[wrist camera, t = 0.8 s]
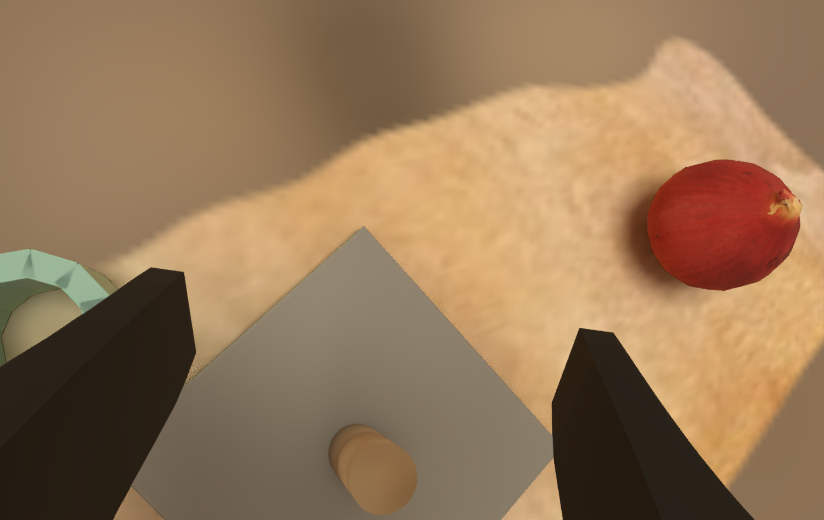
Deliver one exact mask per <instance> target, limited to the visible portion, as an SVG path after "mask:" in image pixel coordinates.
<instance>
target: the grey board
mask: <svg viewBox="0 0 824 520" xmlns="http://www.w3.org/2000/svg"><path fill="white" fill-rule="evenodd" d="M351 424H364V425H367V426H369V427H371V428H372V429H374V430H375V431H377V432H378V433H380V434H381V435H383V436H384V437H386V438H387V439H389V440H390V441H392V442H393V443H395V444H396V445H398V446H399V447H401V448H402V449H403V450H405V451H406V452H407V453H408V454H409V455H410V456H411V458H412V459H413V461H414V463H415V466H416V470H417V485H416V489H415V492H414V494H413V496H412V498H411V499H410V501H409V502H408V503H407V504H406V505H405V506H404V507H403V508H402V509H400V510H399V511H397V512H395V513H392V514H389V515H374V514H371V513H369V512H367V511H365V510H364V509H362V508H361V507H360V506H359V505H358V503H357V502H356V501H355V499H354V498H353V496H352V495H351V494H350V492H349V491H348V490H347V488H346V487H345V485H344V484H343V483H342V481H341V480H340V478H339V477H338V476H337V474H336V473H335V471H334V470H333V468H332V467H331V464H330V462H329V456H328V452H329V446H330V443H331V441H332V439H333V437H334V436H335V434H336V433H337V432H338V431H339V430H340V429H342V428H343V427H345V426H347V425H351ZM552 458H553V437H552V435H551V434H550V433H549V432H548V430H547V429H546V428H545V427H544V426H543V425H542V424H541V423H540V422H539V420H538V419H537V418H536V417H535V416H534V415H533V414H532V413H531V412H530V410H529V409H528V408H527V407H526V406H525V405H524V404H523V403H522V402H521V400H520V399H519V398H518V397H517V396H516V395H515V394H514V393H513V391H512V390H511V389H510V388H509V387H508V386H507V385H506V384H505V383H504V381H503V380H502V379H501V378H500V377H499V376H498V375H497V374H496V373H495V371H494V370H493V369H492V368H491V367H490V366H489V365H488V364H487V362H486V361H485V360H484V359H483V358H482V357H481V356H480V355H479V354H478V352H477V351H476V350H475V349H474V348H473V347H472V346H471V345H470V344H469V342H468V341H467V340H466V339H465V338H464V337H463V336H462V335H461V334H460V332H459V331H458V330H457V329H456V328H455V327H454V326H453V325H452V323H451V322H450V321H449V320H448V319H447V318H446V317H445V316H444V315H443V313H442V312H441V311H440V310H439V309H438V308H437V307H436V306H435V305H434V303H433V302H432V301H431V300H430V299H429V298H428V297H427V296H426V295H425V293H424V292H423V291H422V290H421V289H420V288H419V287H418V286H417V284H416V283H415V282H414V281H413V280H412V279H411V278H410V277H409V276H408V274H407V273H406V272H405V271H404V270H403V269H402V268H401V267H400V266H399V264H398V263H397V262H396V261H395V260H394V259H393V258H392V257H391V256H390V254H389V253H388V252H387V251H386V250H385V249H384V248H383V247H382V245H381V244H380V243H379V242H378V241H377V240H376V239H375V238H374V237H373V235H372V234H371V233H370V232H369V231H368V230H367V229H366V228H365V227H364V226H363V227H362V228H361V229H360V230H359V231H358V232H356V233H355V234H354V235H353V236H352V237H351V238H350V239H349V240H347V241H346V242H345V243H344V244H343V245H342V246H341V247H340V248H338V249H337V250H336V251H335V252H334V253H333V254H332V255H331V256H330V257H328V258H327V259H326V260H325V261H324V262H323V263H322V264H321V265H319V266H318V267H317V268H316V269H315V270H314V271H313V272H312V273H310V274H309V275H308V276H307V277H306V278H305V279H304V280H303V281H301V282H300V283H299V284H298V285H297V286H296V287H295V288H294V289H292V290H291V291H290V292H289V293H288V294H287V295H286V296H285V297H284V298H282V299H281V300H280V301H279V302H278V303H277V304H276V305H275V306H273V307H272V308H271V309H270V310H269V311H268V312H267V313H266V314H264V315H263V316H262V317H261V318H260V319H259V320H258V321H257V322H255V323H254V324H253V325H252V326H251V327H250V328H249V329H248V330H246V331H245V332H244V333H243V334H242V335H241V336H240V337H239V338H238V339H236V340H235V341H234V342H233V343H232V344H231V345H230V346H229V347H227V348H226V349H225V350H224V351H223V352H222V353H221V354H220V355H218V356H217V357H216V358H215V359H214V360H213V361H212V362H211V363H209V364H208V365H207V366H206V367H205V368H204V369H203V370H202V371H200V372H199V373H198V374H197V375H196V376H195V377H194V378H193V379H192V380H190V381H189V382H188V383H187V384H186V385H185V386H184V387H183V388H182V391H181V393H180V396H179V398H178V400H177V403H176V404H175V406H174V408H173V410H172V412H171V414H170V416H169V418H168V420H167V421H166V423H165V425H164V427H163V429H162V431H161V432H160V434H159V436H158V438H157V440H156V442H155V443H154V445H153V447H152V449H151V451H150V453H149V454H148V456H147V458H146V460H145V462H144V463H143V465H142V467H141V469H140V471H139V472H138V474H137V476H136V478H135V480H134V482H133V483H132V485H131V486H132V487H133V488H134V489H135V490H136V491H137V492H138V493H139V494H140V495H141V496H142V497H143V498H144V499H145V500H146V501H147V502H148V503H149V504H150V505H151V506H152V507H153V508H154V509H155V510H156V511H157V512H158V513H159V514H160V515H161V516H162V517H163V518H164V519H165V520H501V519H502V518H503V517H504V516H505V514H506V513H507V512H508V511H509V510H510V508H511V507H512V506H513V505H514V504H515V502H516V501H517V500H518V499H519V498H520V496H521V495H522V494H523V493H524V492H525V490H526V489H527V488H528V487H529V486H530V485H531V483H532V482H533V481H534V480H535V479H536V477H537V476H538V475H539V474H540V473H541V471H542V470H543V469H544V468H545V467H546V465H547V464H548V463H549V462H550V461H551V460H552Z"/></svg>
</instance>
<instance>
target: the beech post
mask: <svg viewBox="0 0 824 520" xmlns="http://www.w3.org/2000/svg"><path fill="white" fill-rule="evenodd" d="M328 456H329V462H330V464H331V467H332V468H333V470H334V471H335V473H336V474H337V476H338V477H339V478H340V480H341V481H342V483H343V484H344V485H345V487H346V488H347V490H348V491H349V492H350V494H351V495H352V496H353V498H354V499H355V501H356V502H357V503H358V505H359V506H360V507H361V508H362V509H364V510H365V511H367V512H369V513H371V514H374V515H389V514H392V513H395V512H397V511H399V510H400V509H402V508H403V507H404V506H405V505H406V504H407V503H408V502H409V501H410V499H411V498H412V496H413V494H414V492H415V489H416V485H417V470H416V466H415V463H414V461H413V459H412V458H411V456H410V455H409V454H408V453H407V452H406V451H405V450H403V449H402V448H401V447H399V446H398V445H396V444H395V443H393V442H392V441H390V440H389V439H387V438H386V437H384V436H383V435H381V434H380V433H378V432H377V431H375V430H374V429H372V428H371V427H369V426H367V425H364V424H351V425H347V426H345V427H343V428H342V429H340V430H339V431H338V432H337V433H336V434H335V436H334V437H333V439H332V441H331V443H330V446H329V452H328Z"/></svg>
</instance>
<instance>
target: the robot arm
mask: <svg viewBox="0 0 824 520" xmlns="http://www.w3.org/2000/svg"><path fill="white" fill-rule="evenodd" d="M195 354H196V348H195V342H194V335H193V329H192V322H191V316H190V309H189V302H188V296H187V289H186V283H185V276H184V272H180V271H172V270H165V269H158V268H149V269H148V270H146V271H145V272H143V273H142V274H140V275H139V276H137V277H136V278H134V279H133V280H131V281H130V282H128V283H127V284H125V285H124V286H122V287H121V288H120V289H118V290H117V291H115V292H114V293H112V294H111V295H110V296H108V297H107V298H105V299H104V300H102V301H101V302H99V303H98V304H97V305H95V306H94V307H92V308H91V309H89V310H88V311H86V312H85V313H83V314H82V315H80V316H79V317H77V318H76V319H74V320H73V321H71V322H70V323H69V324H67V325H66V326H64V327H63V328H61V329H60V330H58V331H57V332H55V333H54V334H52V335H51V336H49V337H48V338H46V339H44V340H43V341H41V342H40V343H38V344H36V345H35V346H33V347H31V348H30V349H28V350H27V351H25V352H23V353H22V354H20V355H18V356H17V357H15V358H14V359H12V360H10V361H9V362H7V363H5V364H4V365H2V366H1V367H0V520H113V519H114V517H115V515H116V513H117V511H118V509H119V507H120V505H121V503H122V501H123V500H124V498H125V496H126V494H127V492H128V491H129V489H130V487H131V485H132V483H133V482H134V480H135V478H136V476H137V474H138V472H139V471H140V469H141V467H142V465H143V463H144V462H145V460H146V458H147V456H148V454H149V453H150V451H151V449H152V447H153V445H154V443H155V442H156V440H157V438H158V436H159V434H160V432H161V431H162V429H163V427H164V425H165V423H166V421H167V420H168V418H169V416H170V414H171V412H172V410H173V408H174V406H175V404H176V403H177V400H178V398H179V396H180V393H181V391H182V388H183V386H184V383H185V381H186V378H187V375H188V373H189V370H190V367H191V365H192V362H193V359H194V357H195ZM552 437H553V457H554V464H555V471H556V478H557V484H558V491H559V498H560V504H561V510H562V517H563V520H754V519H753V518H752V516H751V515H749V513H748V512H747V511H746V510H745V509H744V508H743V507H742V505H741V504H740V503H739V502H738V501H737V500H736V499H735V497H734V496H733V495H732V494H731V493H730V492H729V491H728V489H727V488H726V487H725V486H724V485H723V483H722V482H721V481H720V480H719V478H718V477H717V476H716V475H715V473H714V472H713V471H712V470H711V469H710V467H709V466H708V465H707V464H706V462H705V461H704V460H703V459H702V457H701V456H700V455H699V454H698V452H697V451H696V450H695V448H694V447H693V446H692V445H691V443H690V442H689V441H688V439H687V438H686V437H685V435H684V434H683V432H682V431H681V430H680V428H679V427H678V426H677V424H676V423H675V421H674V420H673V419H672V417H671V416H670V415H669V413H668V412H667V410H666V409H665V408H664V406H663V405H662V403H661V402H660V401H659V399H658V398H657V396H656V395H655V393H654V392H653V390H652V389H651V388H650V386H649V385H648V383H647V382H646V380H645V379H644V377H643V376H642V374H641V373H640V371H639V370H638V368H637V367H636V365H635V364H634V362H633V361H632V359H631V358H630V356H629V355H628V353H627V352H626V350H625V349H624V347H623V346H622V345H621V343H620V342H619V340H618V339H617V337H616V336H615V334H614V333H612V332H605V331H597V330H590V329H583V328H579V331H578V333H577V336H576V339H575V342H574V344H573V347H572V350H571V352H570V355H569V358H568V360H567V363H566V366H565V369H564V371H563V374H562V377H561V379H560V382H559V385H558V388H557V390H556V393H555V396H554V398H553V401H552Z"/></svg>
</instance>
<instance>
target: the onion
mask: <svg viewBox="0 0 824 520" xmlns="http://www.w3.org/2000/svg"><path fill="white" fill-rule="evenodd" d="M801 209H802V203H801V202H800V200H799V199H798V198H797V197H796V196H795V195H794V194H792V193H791V191H790V190H789V188H788V187H787V186H786V185H785V184H784V183H783V182H782V180H781V179H780V178H778V177H777V176H775V175H774V174H772V173H770V172H769V171H767V170H765V169H763V168H762V167H760V166H758V165H756V164H753V163H748V162H741V161H734V160H713V161H709V162H705V163H701V164H697V165H693V166H689V167H685V168H684V169H682V170H681V171H679V172H678V173H676V174H675V175H673V176H672V177H671V178H670V179H669V180H668V181H667V182H666V183H664V184H663V185H662V186H661V187H660V188H659V190H658V192H657V194H656V195H655V197H654V200H653V202H652V204H651V207H650V209H649V211H648V236H649V240H650V243H651V247H652V251H653V253H654V254H655V256H656V258H657V259H658V261H659V262H660V264H661V266H662V267H663V268H664V269H665V270H666V271H667V272H668V273H669V274H671V275H673V276H674V277H676V278H677V279H679V280H680V281H682V282H683V283H685V284H686V285H688V286H692V287H697V288H703V289H708V290H722V291H725V290H729V289H733V288H737V287H741V286H744V285H748V284H752V283H755V282H758V281H760V280H761V279H763V278H765V277H766V276H768V275H769V274H770V273H771V272H772V271H773V270H774V269H775V268H777V267H778V266H779V265H780V264H781V263H782V262H783V261H784V260H785V259H786V258H787V257H788V256H789V254H790V252H791V250H792V248H793V246H794V243H795V240H796V238H797V235H798V232H799V229H800V217H799V215H800V212H801Z"/></svg>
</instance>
